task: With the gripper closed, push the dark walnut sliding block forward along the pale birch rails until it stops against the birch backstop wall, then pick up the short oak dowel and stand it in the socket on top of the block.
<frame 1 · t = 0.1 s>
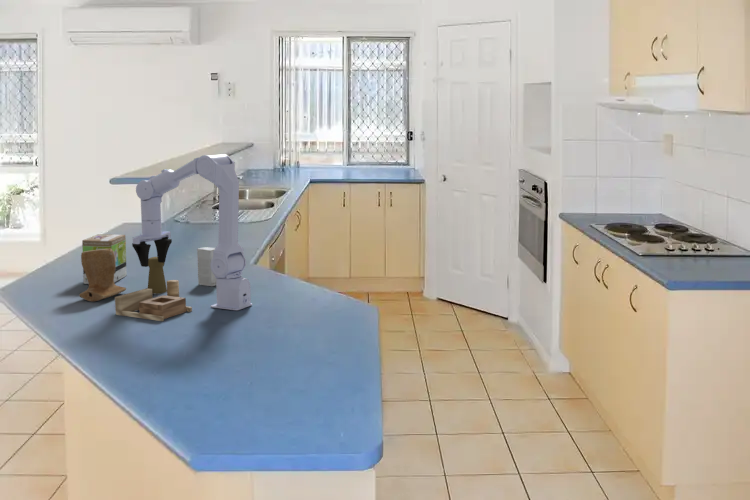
hand: (153, 264, 252), 10 cm above the counter, tool pointing down, fingers open, 7 cm apart
oak dowel: (173, 304, 244), on the counter
brown wooden stand: (100, 298, 253), on the counter
birch rail and backstop: (149, 312, 234), on the counter
skincare box: (209, 285, 271), on the counter
walnut block: (162, 307, 232), point 2 cm above the counter, slide at 0.0 cm
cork: (157, 292, 261), on the counter
tea box: (105, 280, 278), on the counter
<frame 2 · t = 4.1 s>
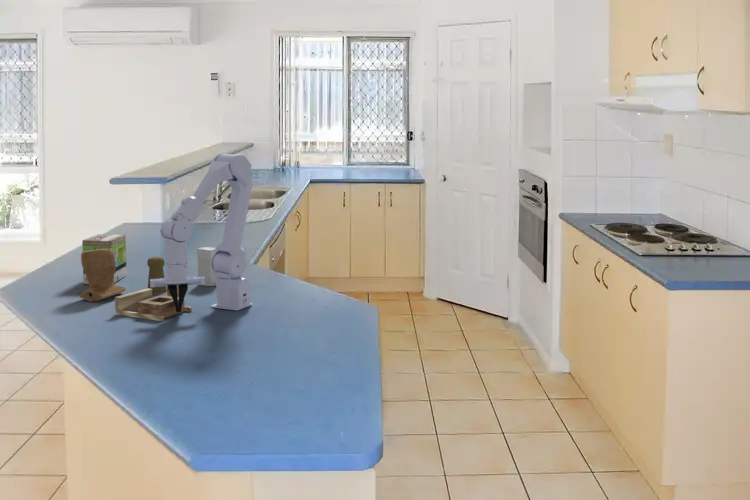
hand: (178, 311, 229), 1 cm above the counter, tool pointing down, fingers closed
walnut block: (161, 306, 232), point 2 cm above the counter, slide at 0.5 cm, touching gripper
everything else where it was.
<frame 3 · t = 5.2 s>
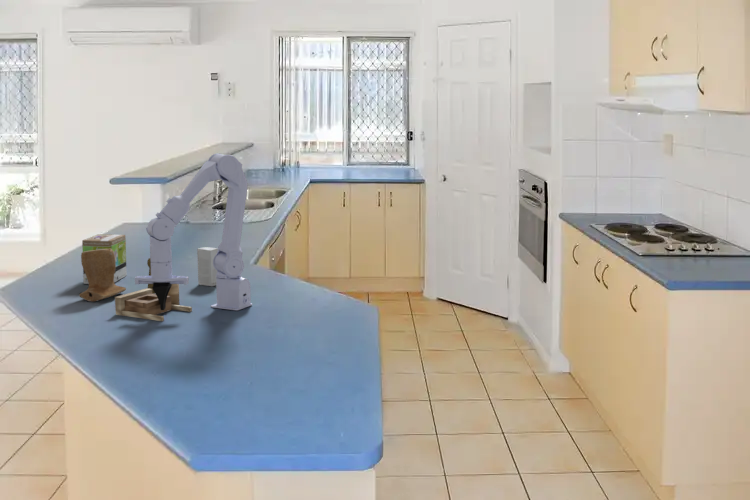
hand: (163, 309, 232), 1 cm above the counter, tool pointing down, fingers closed
walnut block: (148, 305, 234), point 2 cm above the counter, slide at 5.2 cm, touching gripper
everything else where it was.
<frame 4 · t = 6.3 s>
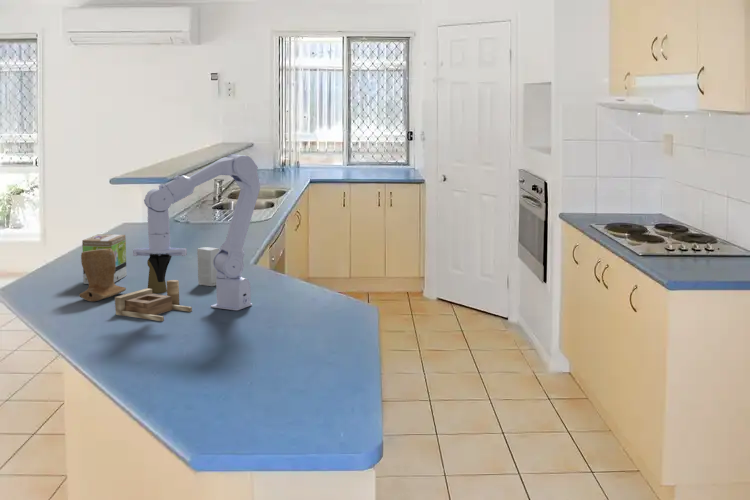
hand: (161, 281, 231), 9 cm above the counter, tool pointing down, fingers closed
walnut block: (148, 305, 234), point 2 cm above the counter, slide at 5.0 cm
everything else where it was.
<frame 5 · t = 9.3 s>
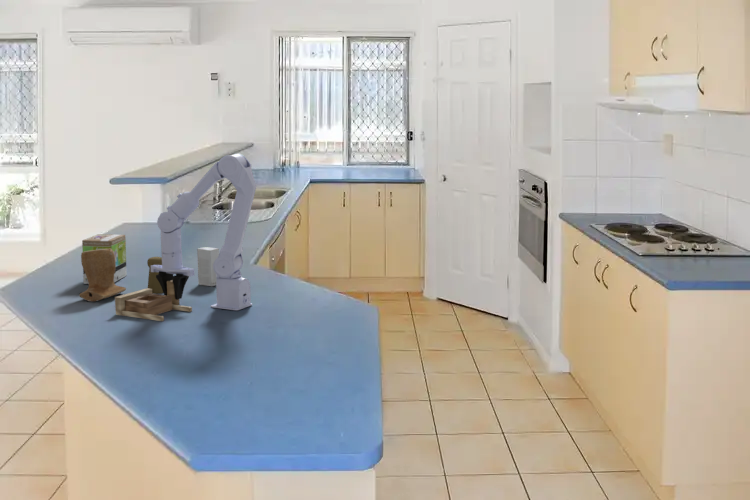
hand: (173, 298, 243), 2 cm above the counter, tool pointing down, fingers closed on oak dowel, 3 cm apart
oak dowel: (173, 304, 244), on the counter, touching gripper
everything else where it was.
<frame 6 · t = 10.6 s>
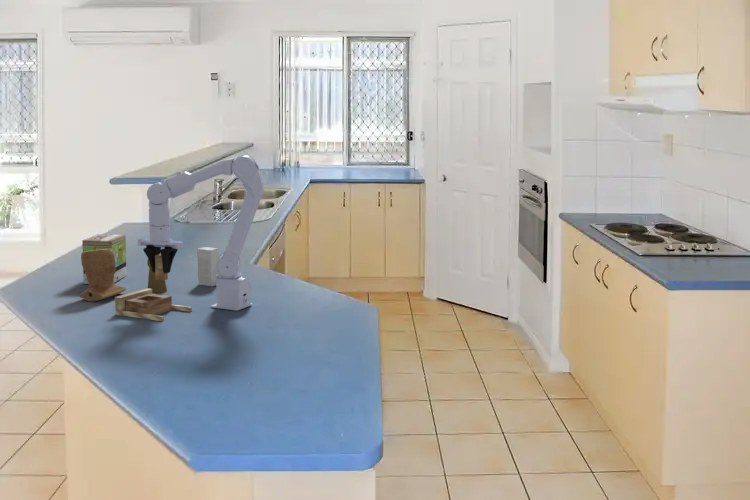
hand: (161, 272, 238), 10 cm above the counter, tool pointing down, fingers closed on oak dowel, 3 cm apart
oak dowel: (161, 279, 238), point 8 cm above the counter, touching gripper
everything else where it was.
when the fingers open (5 cm above the counter, at t = 12.2 s): oak dowel stays where it is, resting on walnut block.
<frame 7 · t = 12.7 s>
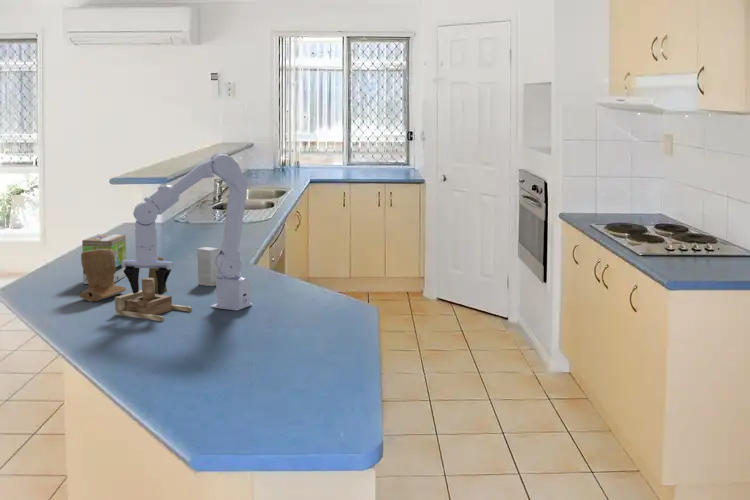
hand: (148, 293, 233), 5 cm above the counter, tool pointing down, fingers open, 7 cm apart
oak dowel: (149, 303, 234), point 3 cm above the counter, touching walnut block
walnut block: (148, 305, 234), point 2 cm above the counter, slide at 5.0 cm, touching oak dowel
everything else where it was.
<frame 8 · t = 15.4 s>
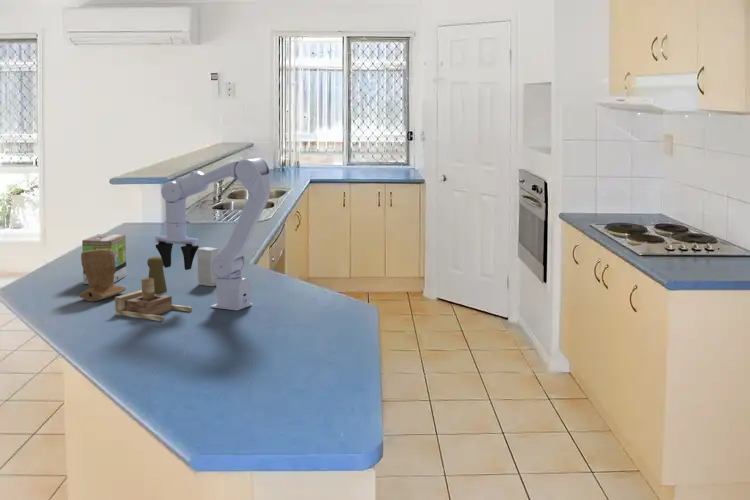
hand: (177, 268, 244), 10 cm above the counter, tool pointing down, fingers open, 7 cm apart
nothing on the counter moved.
at the end: walnut block slide at 5.0 cm; oak dowel 0.1 cm off-centre on the walnut block, point 2.5 cm above the walnut block's base; oak dowel tilted 1° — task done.
